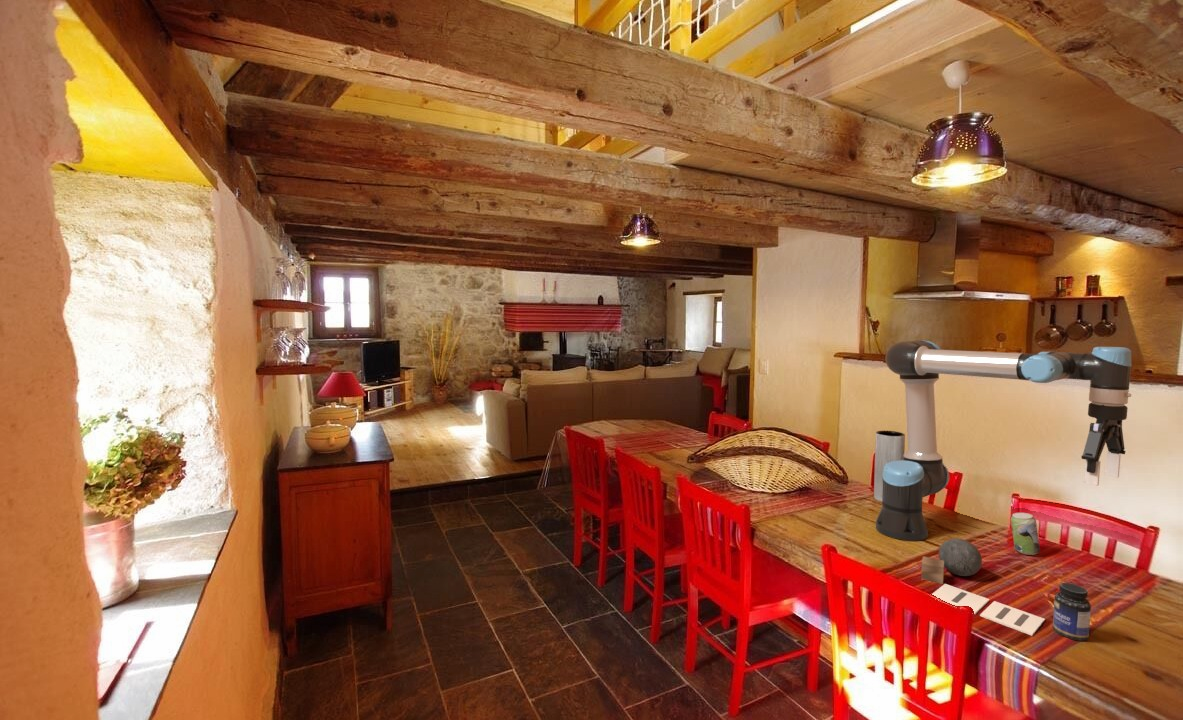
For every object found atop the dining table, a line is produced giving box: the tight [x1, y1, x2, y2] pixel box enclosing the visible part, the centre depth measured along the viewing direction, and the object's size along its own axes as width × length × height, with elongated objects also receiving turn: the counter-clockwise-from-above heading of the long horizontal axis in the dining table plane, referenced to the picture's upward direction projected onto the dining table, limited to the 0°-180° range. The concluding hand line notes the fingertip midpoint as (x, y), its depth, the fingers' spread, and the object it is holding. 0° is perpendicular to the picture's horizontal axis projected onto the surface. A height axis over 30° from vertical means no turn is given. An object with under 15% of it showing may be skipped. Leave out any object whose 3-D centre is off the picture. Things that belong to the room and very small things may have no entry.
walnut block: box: [920, 555, 945, 585], centre depth 144 cm, size 5×5×5 cm
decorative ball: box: [938, 538, 983, 577], centre depth 147 cm, size 10×10×10 cm
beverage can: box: [1010, 512, 1041, 556], centre depth 159 cm, size 6×7×12 cm
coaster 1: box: [931, 583, 990, 615], centre depth 134 cm, size 10×10×1 cm
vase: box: [873, 430, 906, 503], centre depth 206 cm, size 10×10×27 cm
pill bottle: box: [1052, 582, 1092, 642], centre depth 119 cm, size 6×6×11 cm
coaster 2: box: [979, 600, 1046, 637], centre depth 125 cm, size 10×10×1 cm
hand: (1101, 480), depth 142 cm, fingers open, 13 cm apart
